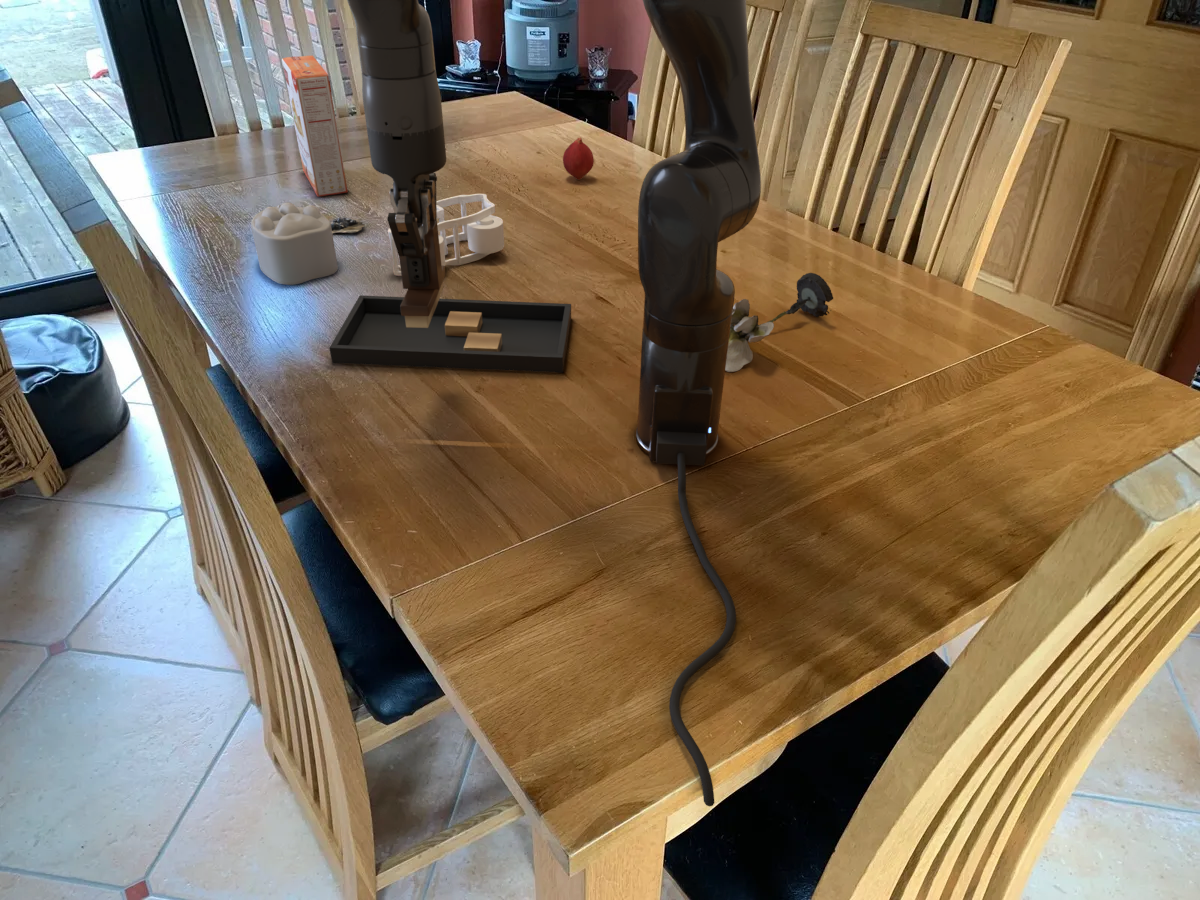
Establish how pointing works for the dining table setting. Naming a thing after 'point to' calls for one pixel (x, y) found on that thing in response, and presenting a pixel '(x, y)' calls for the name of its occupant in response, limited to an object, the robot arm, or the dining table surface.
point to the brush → (423, 299)
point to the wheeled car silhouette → (464, 231)
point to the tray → (385, 340)
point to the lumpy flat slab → (346, 225)
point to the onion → (578, 159)
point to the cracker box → (315, 124)
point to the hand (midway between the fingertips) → (422, 278)
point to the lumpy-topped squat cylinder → (294, 243)
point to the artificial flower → (746, 328)
